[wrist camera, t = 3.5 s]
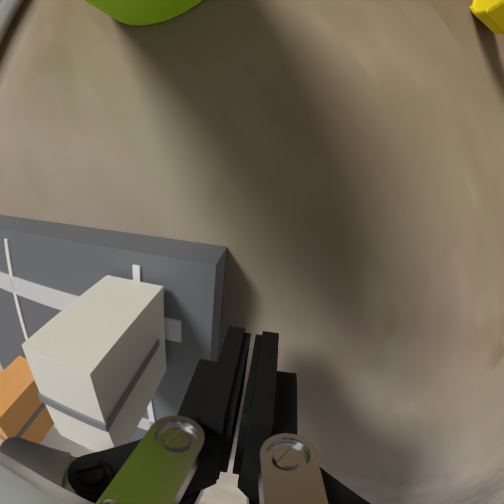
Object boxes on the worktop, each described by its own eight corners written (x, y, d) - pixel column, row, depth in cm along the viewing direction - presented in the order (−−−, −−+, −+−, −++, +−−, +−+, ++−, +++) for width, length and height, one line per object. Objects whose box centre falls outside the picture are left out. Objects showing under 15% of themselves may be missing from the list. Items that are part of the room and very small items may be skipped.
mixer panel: (226, 247, 12) (215, 265, 10) (213, 440, 16) (206, 465, 14) (-14, 213, 13) (-37, 221, 11) (24, 373, 17) (10, 387, 15)
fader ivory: (164, 286, 10) (89, 377, 6) (167, 370, 12) (120, 463, 7) (106, 274, 11) (18, 345, 6) (116, 356, 12) (58, 435, 7)
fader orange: (45, 368, 13) (-4, 423, 8) (63, 412, 14) (26, 464, 10) (19, 355, 13) (-29, 402, 8) (37, 399, 15) (-1, 445, 10)
